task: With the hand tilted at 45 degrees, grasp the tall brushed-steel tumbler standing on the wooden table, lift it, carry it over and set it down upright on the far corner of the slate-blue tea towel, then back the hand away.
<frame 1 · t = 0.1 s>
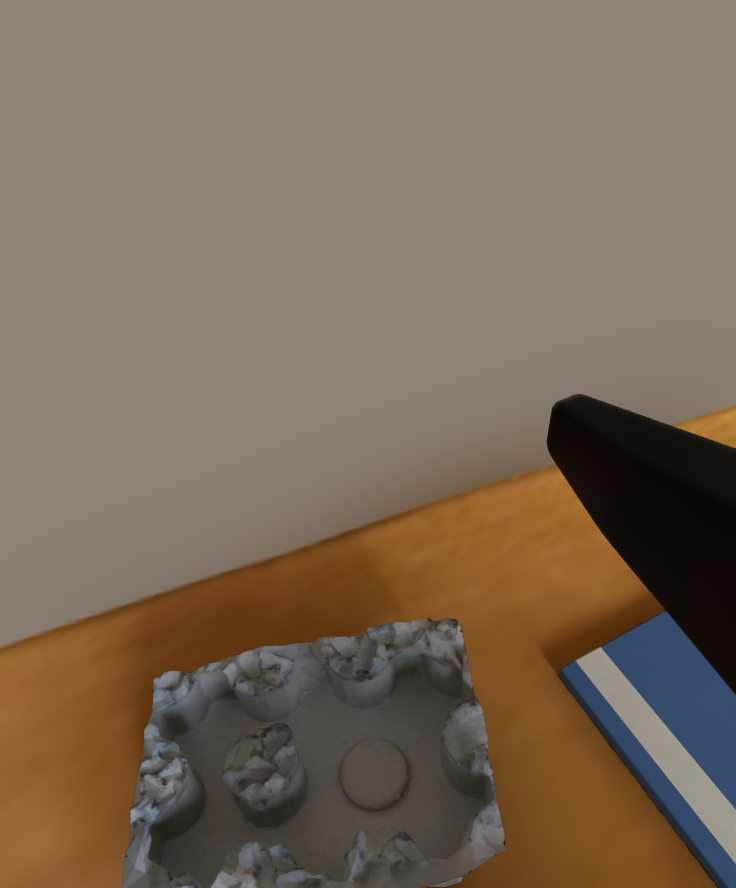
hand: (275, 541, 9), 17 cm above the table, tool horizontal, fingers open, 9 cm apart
egg carton: (325, 790, 23), on the table
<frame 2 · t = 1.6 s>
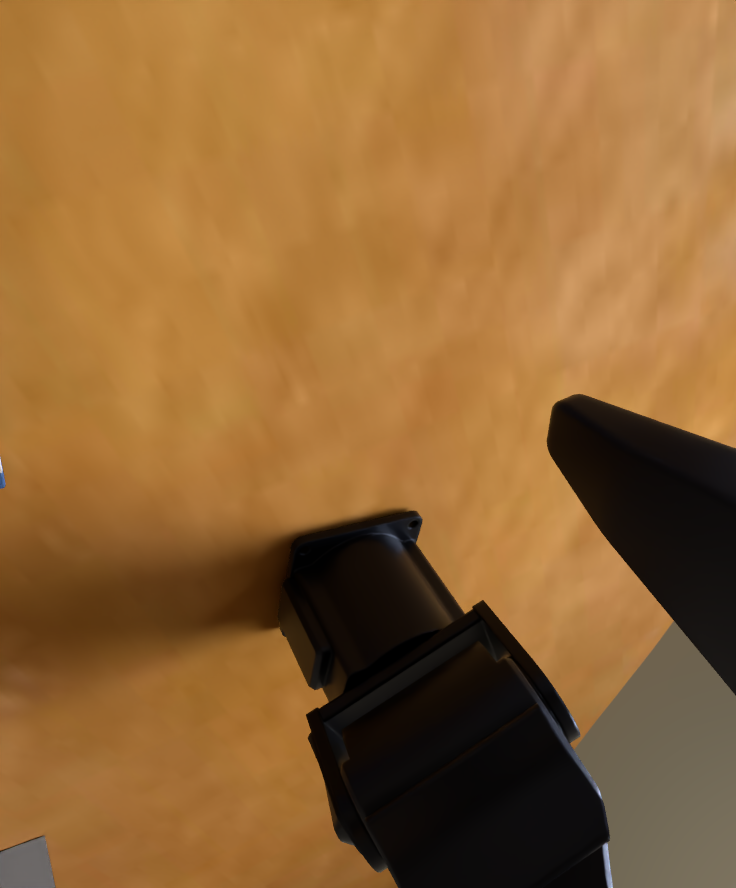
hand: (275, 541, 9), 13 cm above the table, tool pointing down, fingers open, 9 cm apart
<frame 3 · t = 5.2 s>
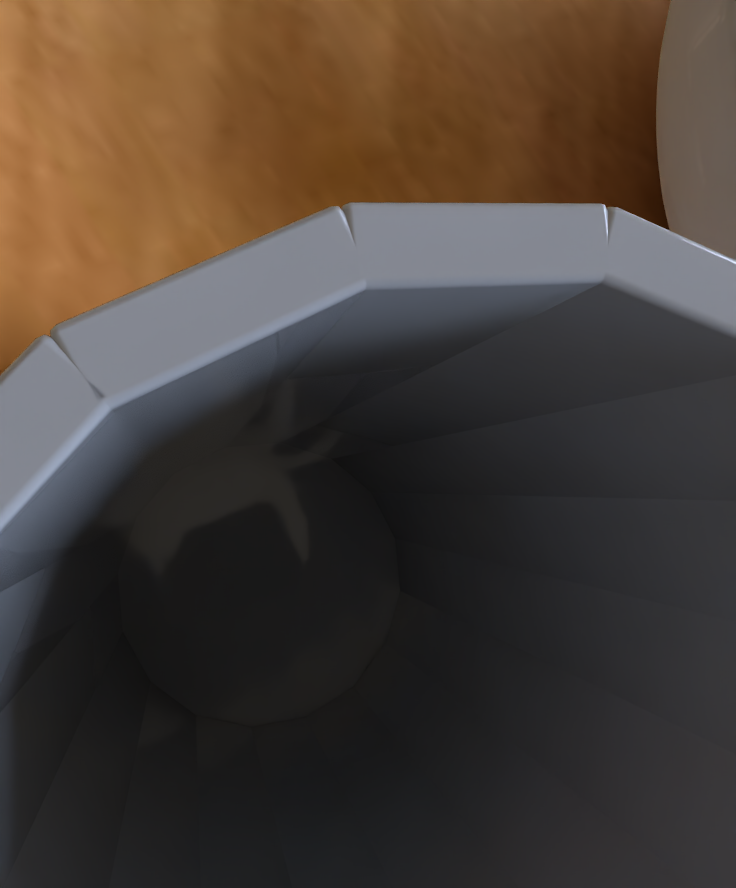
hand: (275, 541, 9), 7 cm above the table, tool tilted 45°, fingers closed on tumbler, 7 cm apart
tumbler: (262, 578, 16), on the table, touching gripper
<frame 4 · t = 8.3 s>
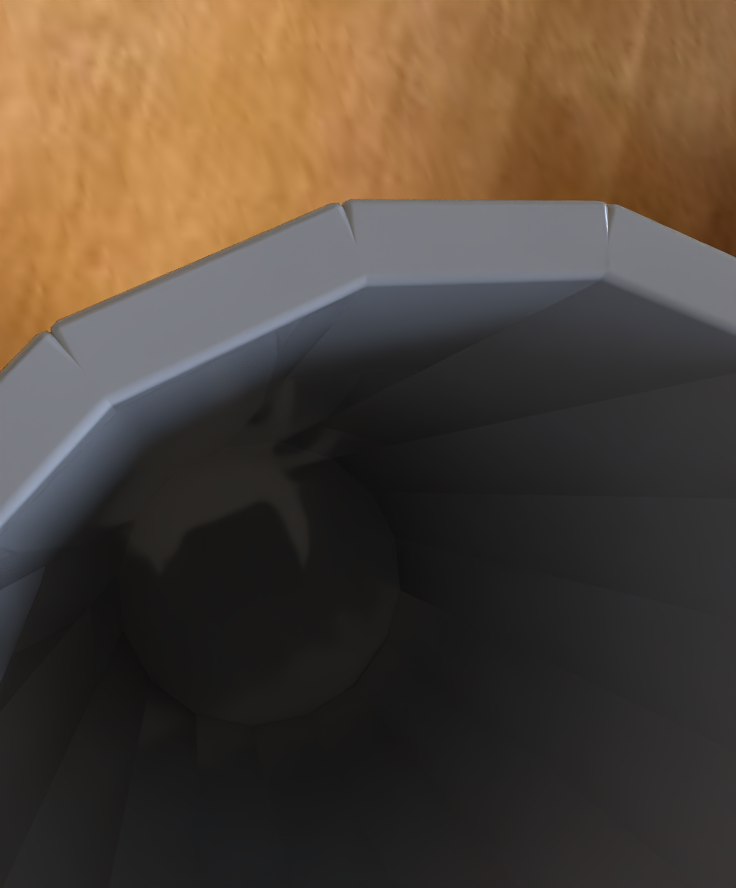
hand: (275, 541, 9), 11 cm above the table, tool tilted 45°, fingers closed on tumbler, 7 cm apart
tumbler: (263, 577, 16), point 5 cm above the table, touching gripper
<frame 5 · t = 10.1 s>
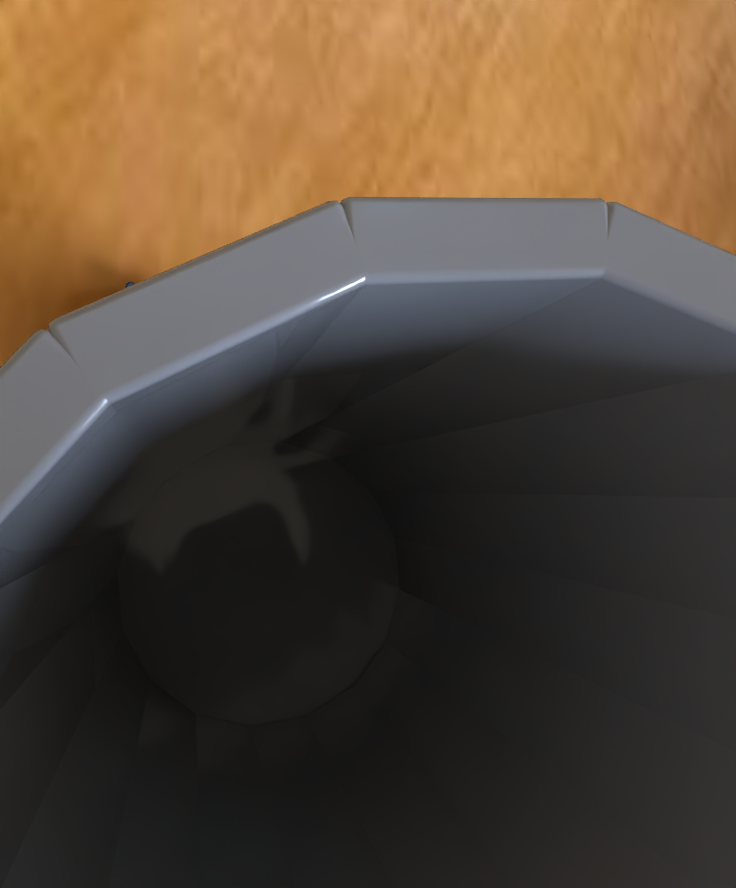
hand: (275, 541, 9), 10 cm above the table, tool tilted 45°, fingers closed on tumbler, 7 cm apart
tumbler: (262, 577, 16), point 3 cm above the table, touching gripper
when the fingers open (7 cm above the table, at t = 11.5 s): tumbler stays where it is, resting on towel.
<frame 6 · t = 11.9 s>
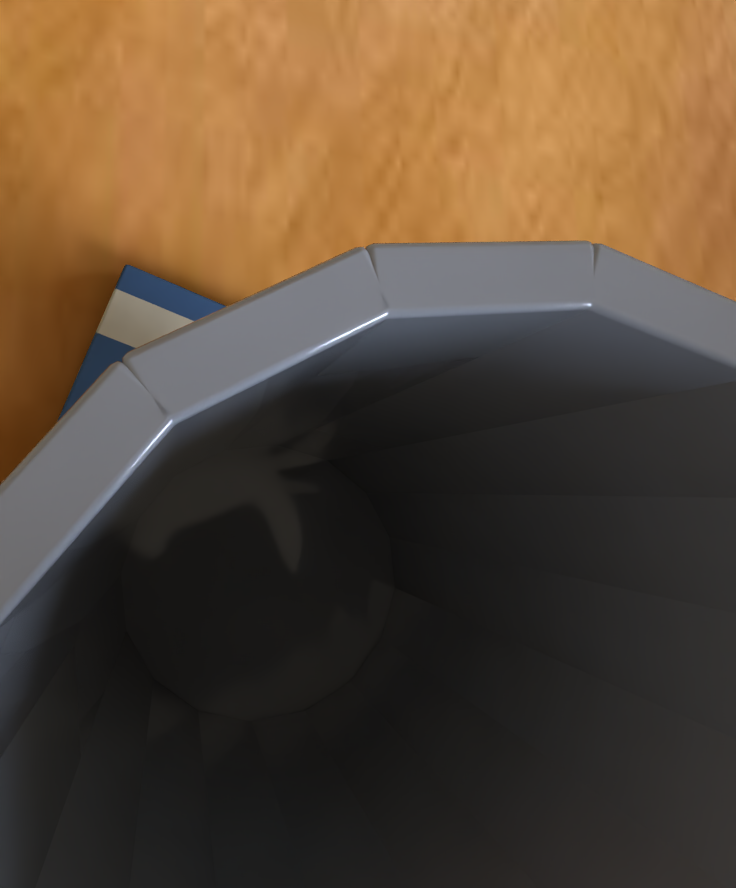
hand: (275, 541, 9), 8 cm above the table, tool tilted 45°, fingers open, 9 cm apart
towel: (247, 792, 16), on the table
tumbler: (261, 577, 16), point 1 cm above the table, touching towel
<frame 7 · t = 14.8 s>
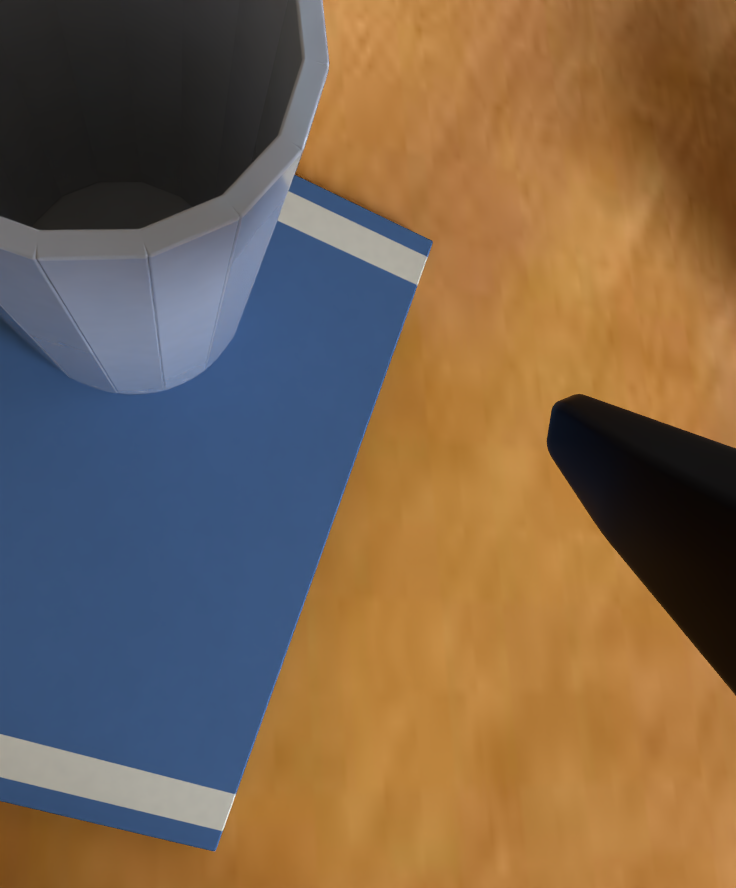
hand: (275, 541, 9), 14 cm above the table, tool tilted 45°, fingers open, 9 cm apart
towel: (122, 449, 22), on the table
tumbler: (131, 285, 21), point 1 cm above the table, touching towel
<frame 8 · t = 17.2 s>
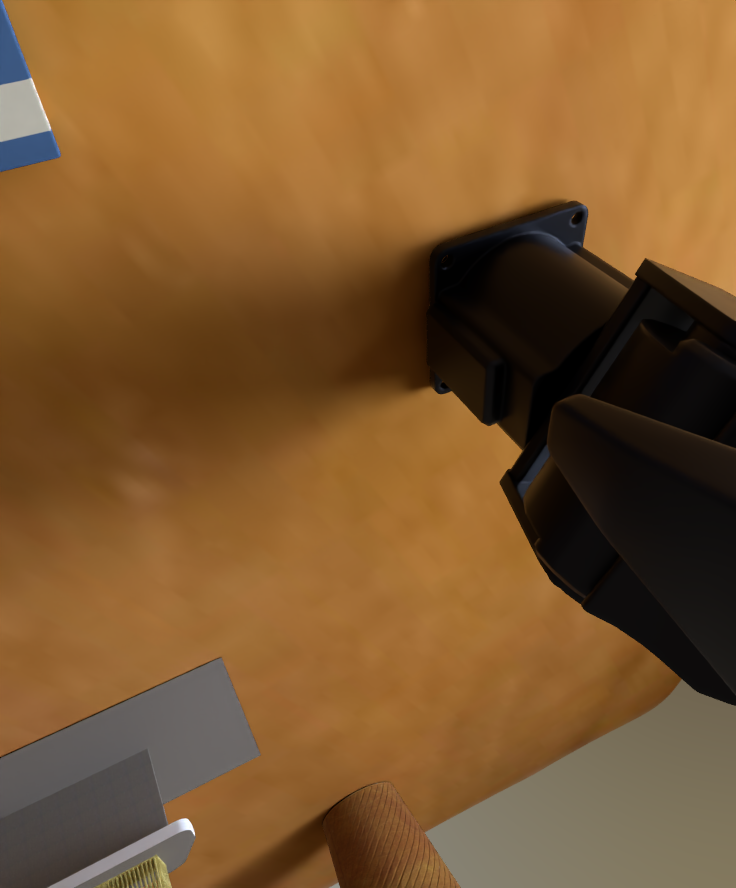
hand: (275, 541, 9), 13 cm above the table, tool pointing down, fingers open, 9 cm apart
disposable coffee cup: (356, 802, 55), on the table
platform: (75, 788, 35), on the table
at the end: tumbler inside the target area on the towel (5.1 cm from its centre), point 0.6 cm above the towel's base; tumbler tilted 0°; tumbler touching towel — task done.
